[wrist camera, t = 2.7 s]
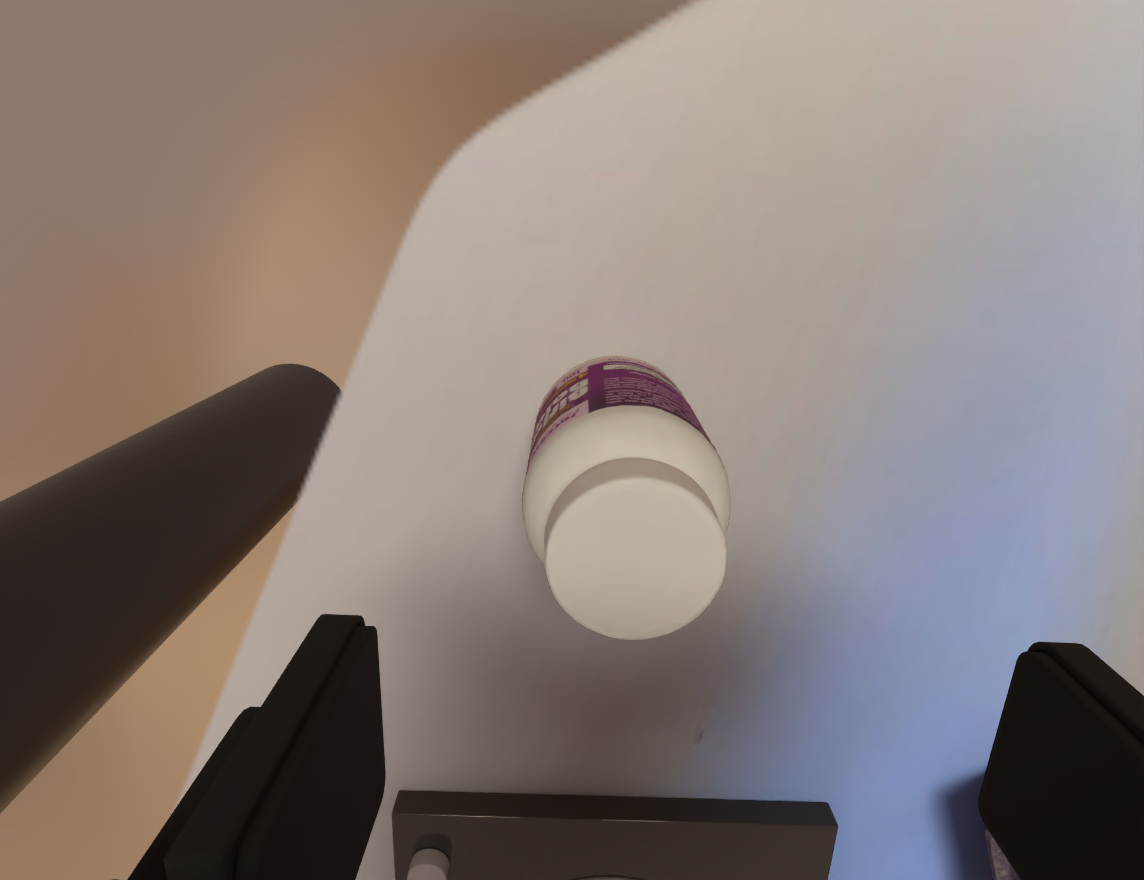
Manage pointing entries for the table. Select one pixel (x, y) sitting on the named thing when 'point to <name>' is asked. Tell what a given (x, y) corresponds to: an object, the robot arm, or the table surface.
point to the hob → (607, 838)
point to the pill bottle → (626, 500)
